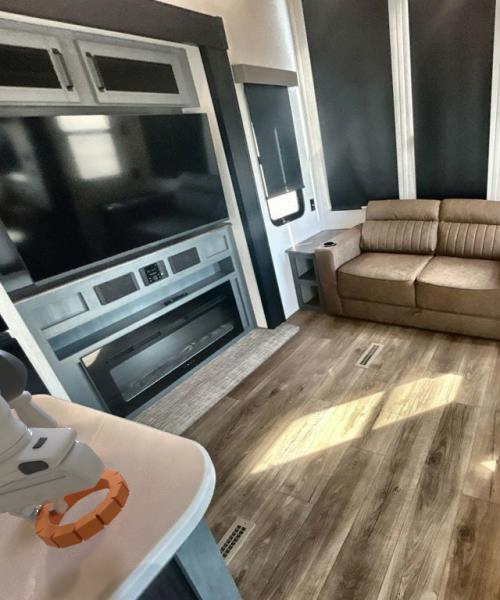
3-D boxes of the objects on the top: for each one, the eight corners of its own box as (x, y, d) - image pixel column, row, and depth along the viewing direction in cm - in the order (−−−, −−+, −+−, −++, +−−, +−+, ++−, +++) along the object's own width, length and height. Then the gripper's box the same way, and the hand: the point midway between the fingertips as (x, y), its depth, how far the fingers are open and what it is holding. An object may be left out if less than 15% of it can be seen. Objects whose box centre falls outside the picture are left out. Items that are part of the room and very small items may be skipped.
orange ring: (28, 558, 56) (17, 548, 55) (68, 491, 67) (59, 481, 65) (113, 533, 59) (104, 522, 57) (138, 472, 69) (131, 461, 68)
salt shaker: (31, 437, 88) (-3, 397, 82) (60, 422, 92) (30, 383, 85) (33, 449, 84) (-2, 408, 78) (63, 433, 88) (32, 393, 82)
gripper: (-105, 500, 50) (-38, 555, 56) (64, 456, 54) (109, 512, 60) (-67, 463, 55) (-9, 517, 62) (85, 425, 59) (124, 479, 66)
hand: (50, 514), depth 61 cm, fingers closed on orange ring, 2 cm apart
